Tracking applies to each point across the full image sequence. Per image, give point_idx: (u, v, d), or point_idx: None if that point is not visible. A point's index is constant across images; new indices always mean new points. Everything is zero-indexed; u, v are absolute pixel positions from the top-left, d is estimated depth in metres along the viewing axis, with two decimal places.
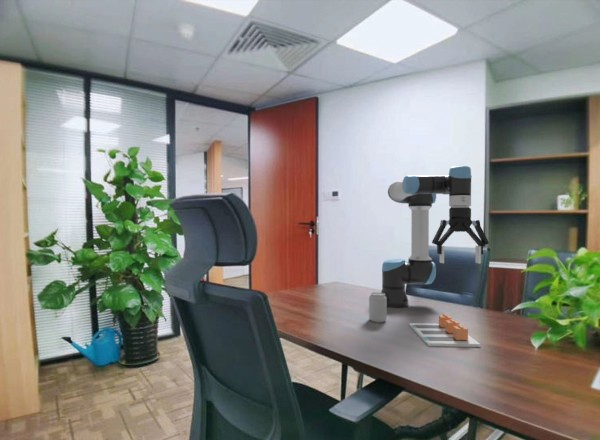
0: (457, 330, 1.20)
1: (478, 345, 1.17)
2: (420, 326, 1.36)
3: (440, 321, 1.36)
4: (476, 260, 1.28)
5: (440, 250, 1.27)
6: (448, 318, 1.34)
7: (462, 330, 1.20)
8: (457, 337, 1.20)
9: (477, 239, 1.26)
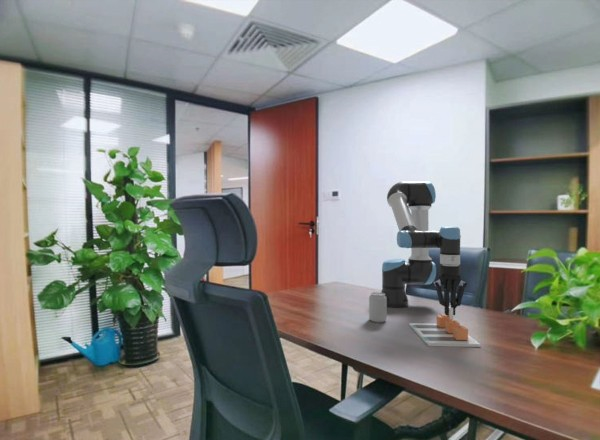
0: (457, 330, 1.20)
1: (478, 345, 1.17)
2: (420, 326, 1.36)
3: (438, 321, 1.36)
4: None
5: (447, 311, 1.35)
6: (446, 318, 1.34)
7: (462, 330, 1.20)
8: (457, 337, 1.20)
9: (454, 299, 1.35)
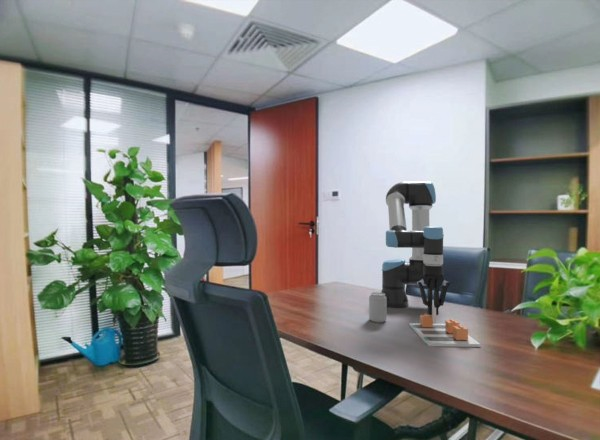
0: (457, 330, 1.20)
1: (478, 345, 1.17)
2: (420, 326, 1.36)
3: (421, 320, 1.36)
4: None
5: (430, 311, 1.35)
6: (429, 318, 1.35)
7: (462, 330, 1.20)
8: (457, 337, 1.20)
9: (437, 299, 1.35)
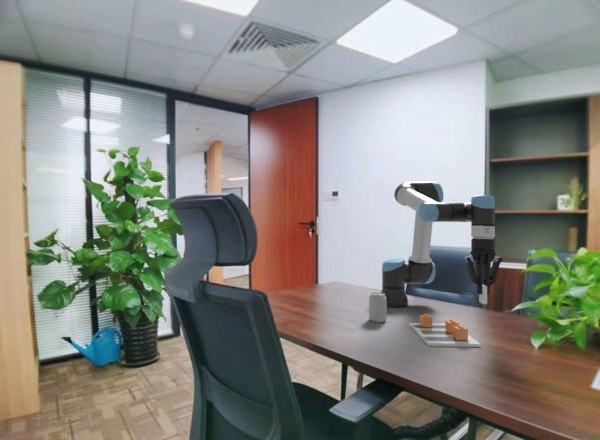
0: (457, 330, 1.20)
1: (478, 345, 1.17)
2: (420, 326, 1.36)
3: (420, 320, 1.36)
4: None
5: (480, 290, 1.21)
6: (429, 318, 1.35)
7: (462, 330, 1.20)
8: (457, 337, 1.20)
9: (488, 276, 1.20)
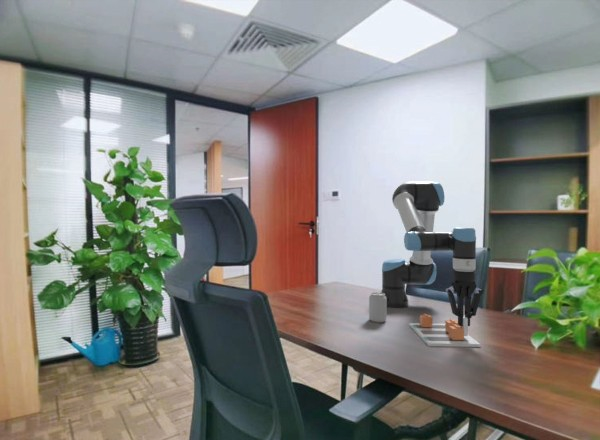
0: (453, 330, 1.20)
1: (478, 345, 1.17)
2: (420, 326, 1.36)
3: (420, 320, 1.36)
4: None
5: (461, 322, 1.21)
6: (429, 318, 1.35)
7: (458, 330, 1.20)
8: (453, 337, 1.20)
9: (468, 308, 1.21)
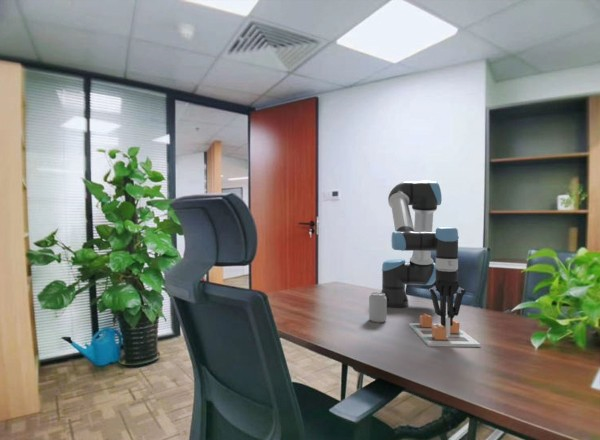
0: (435, 330, 1.21)
1: (478, 345, 1.17)
2: (420, 326, 1.36)
3: (420, 320, 1.36)
4: None
5: (444, 321, 1.21)
6: (429, 318, 1.35)
7: (440, 330, 1.21)
8: (435, 337, 1.21)
9: (451, 308, 1.21)
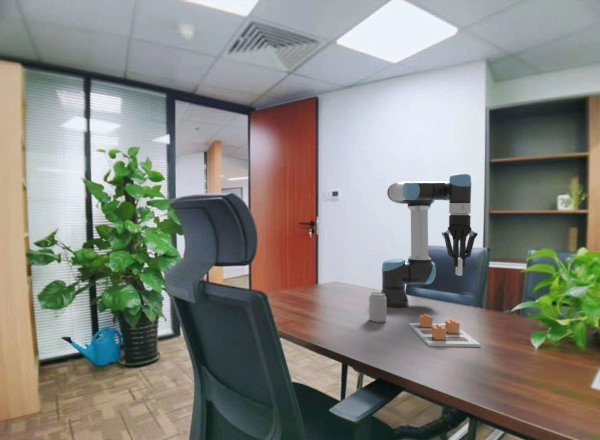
0: (435, 330, 1.21)
1: (478, 345, 1.17)
2: (420, 326, 1.36)
3: (420, 320, 1.36)
4: None
5: (456, 263, 1.30)
6: (429, 318, 1.35)
7: (440, 330, 1.21)
8: (435, 337, 1.21)
9: (463, 250, 1.29)
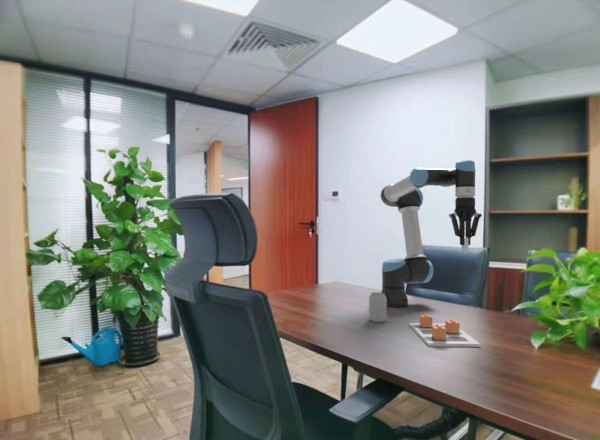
0: (435, 330, 1.21)
1: (478, 345, 1.17)
2: (420, 326, 1.36)
3: (420, 320, 1.36)
4: None
5: (463, 241, 1.42)
6: (429, 318, 1.35)
7: (440, 330, 1.21)
8: (435, 337, 1.21)
9: (469, 230, 1.41)
